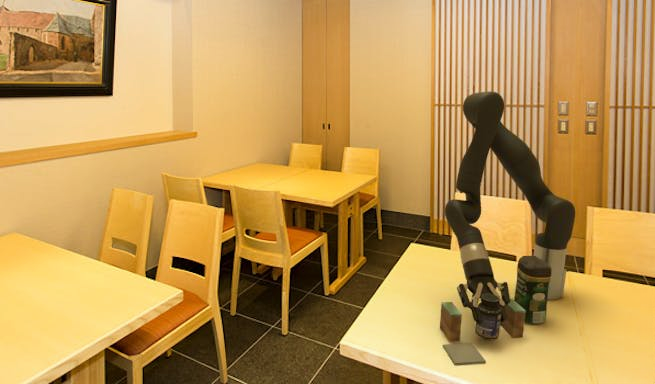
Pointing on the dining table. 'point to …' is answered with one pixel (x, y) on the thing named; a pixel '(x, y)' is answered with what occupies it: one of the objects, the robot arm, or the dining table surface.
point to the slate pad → (463, 354)
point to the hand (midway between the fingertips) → (491, 321)
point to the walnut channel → (512, 325)
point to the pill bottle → (489, 317)
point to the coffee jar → (532, 288)
